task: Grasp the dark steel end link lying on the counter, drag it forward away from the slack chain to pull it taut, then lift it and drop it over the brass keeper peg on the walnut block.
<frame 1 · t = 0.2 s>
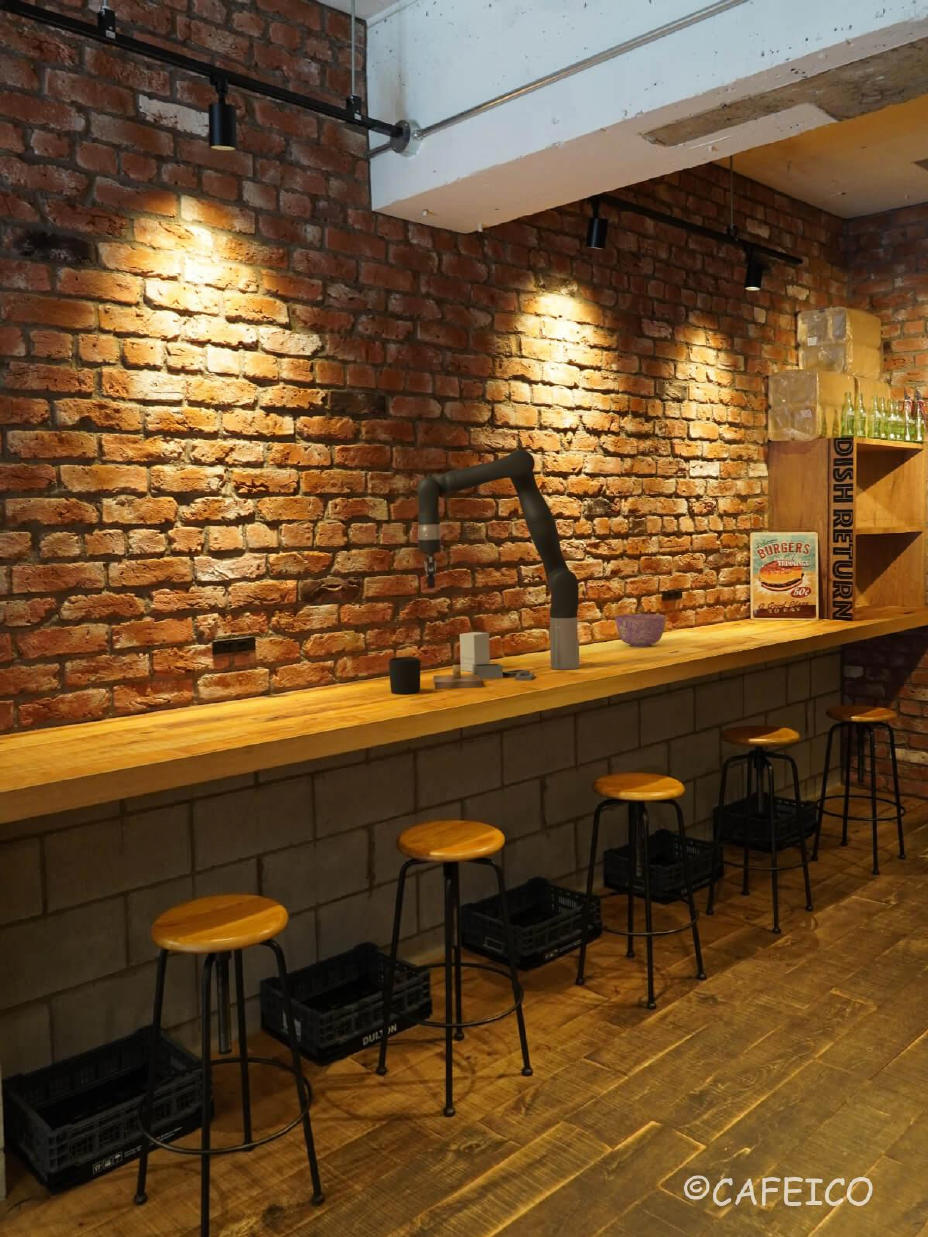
hand: (431, 587, 346), 29 cm above the bar counter, tool pointing down, fingers open, 8 cm apart
end link: (487, 677, 335), on the bar counter
purple bowl: (640, 646, 408), on the bar counter
supplement box: (475, 671, 352), on the bar counter
pen holder: (405, 693, 310), on the bar counter
slack link a: (515, 674, 339), on the bar counter
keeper: (457, 684, 322), on the bar counter
slack link b: (524, 678, 331), on the bar counter
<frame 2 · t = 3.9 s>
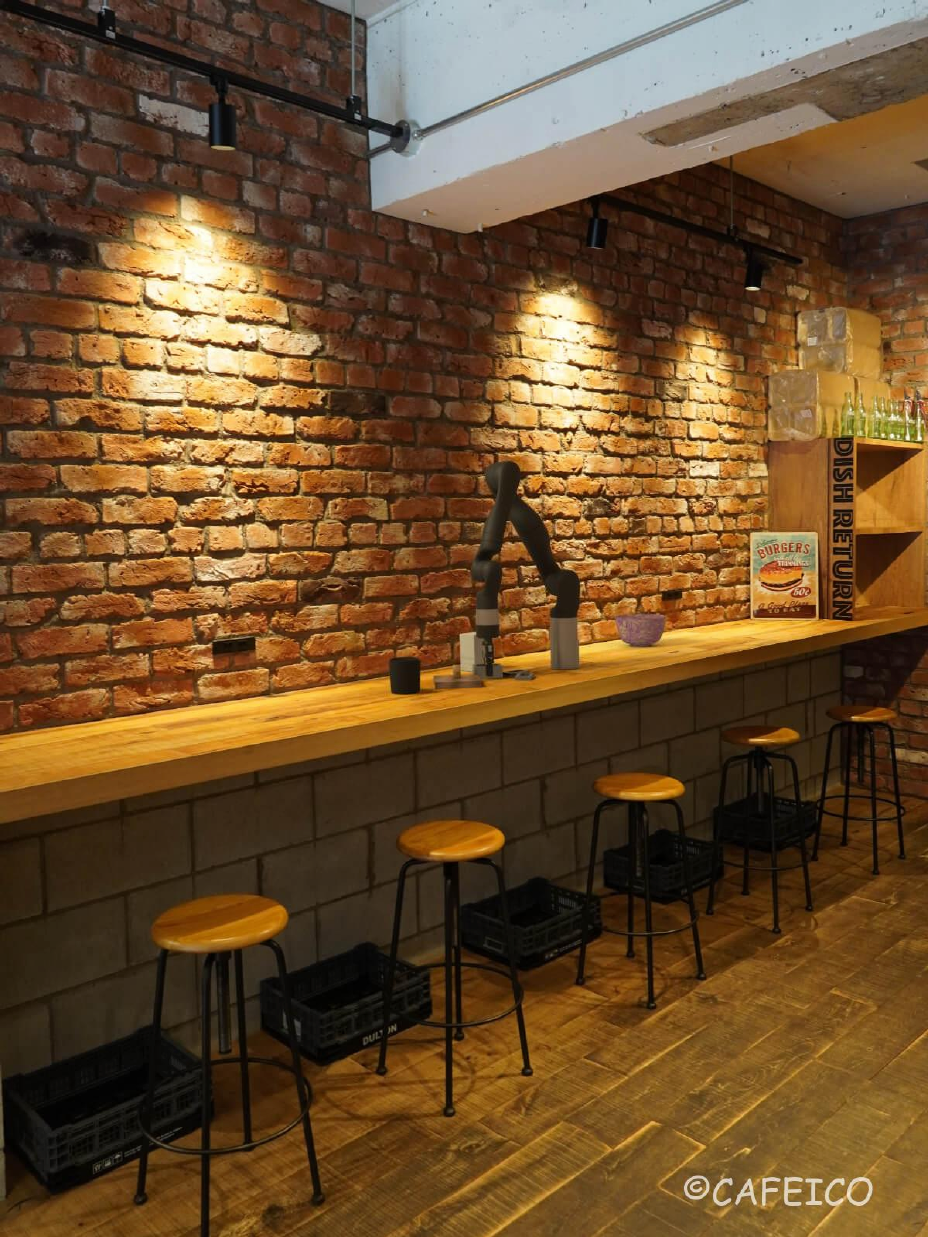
hand: (488, 674, 335), 1 cm above the bar counter, tool pointing down, fingers closed on end link, 6 cm apart
end link: (487, 677, 335), on the bar counter, touching gripper
everything else where it was.
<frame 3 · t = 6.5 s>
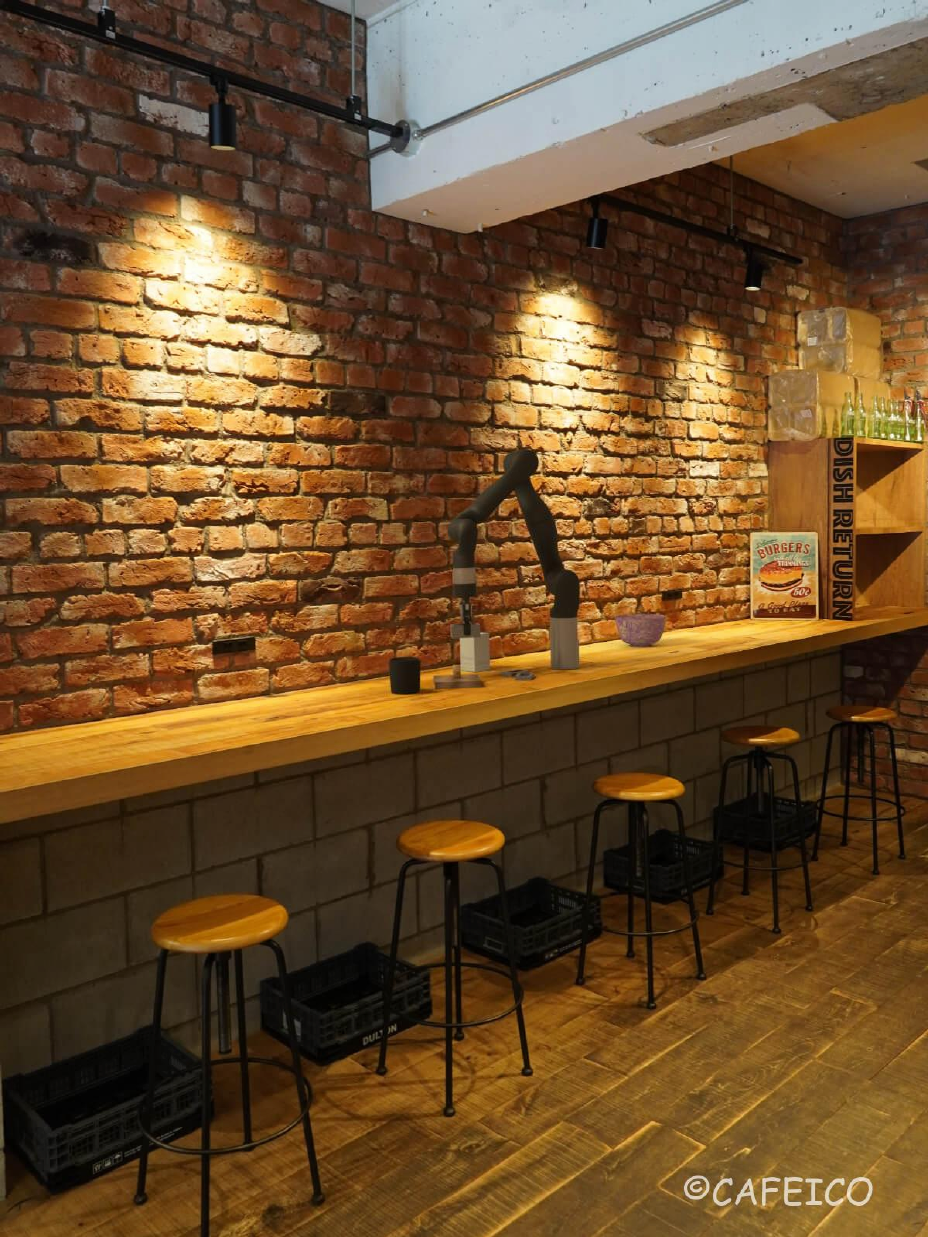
hand: (466, 634, 334), 14 cm above the bar counter, tool pointing down, fingers closed on end link, 6 cm apart
end link: (465, 636, 334), point 13 cm above the bar counter, touching gripper
everything else where it was.
when the fingers open (4 cm above the bar counter, at t = 9.4 s): end link drops 1 cm, resting on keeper.
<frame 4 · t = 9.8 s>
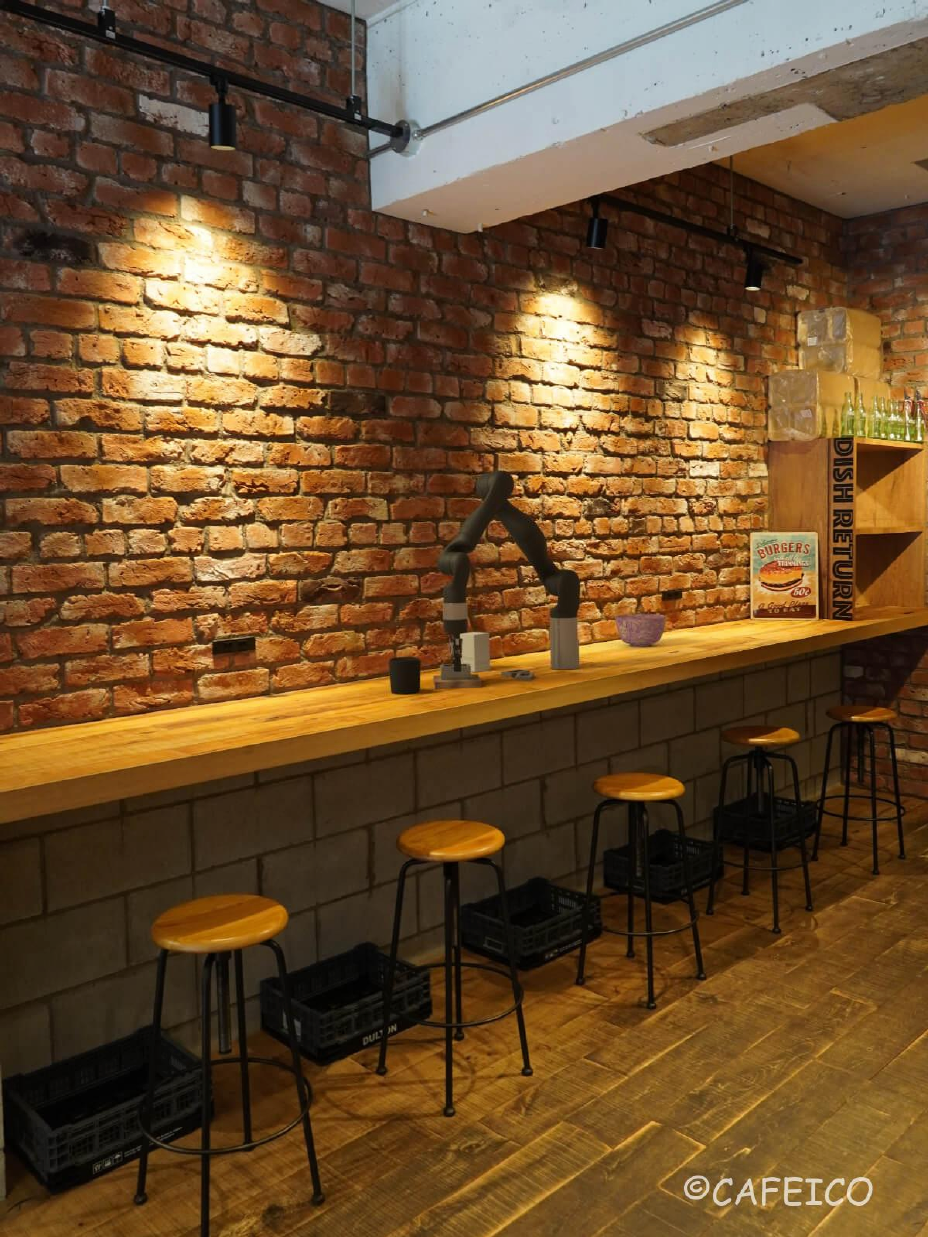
hand: (456, 669, 322), 5 cm above the bar counter, tool pointing down, fingers open, 8 cm apart
end link: (455, 678, 322), point 2 cm above the bar counter, touching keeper
everything else where it was.
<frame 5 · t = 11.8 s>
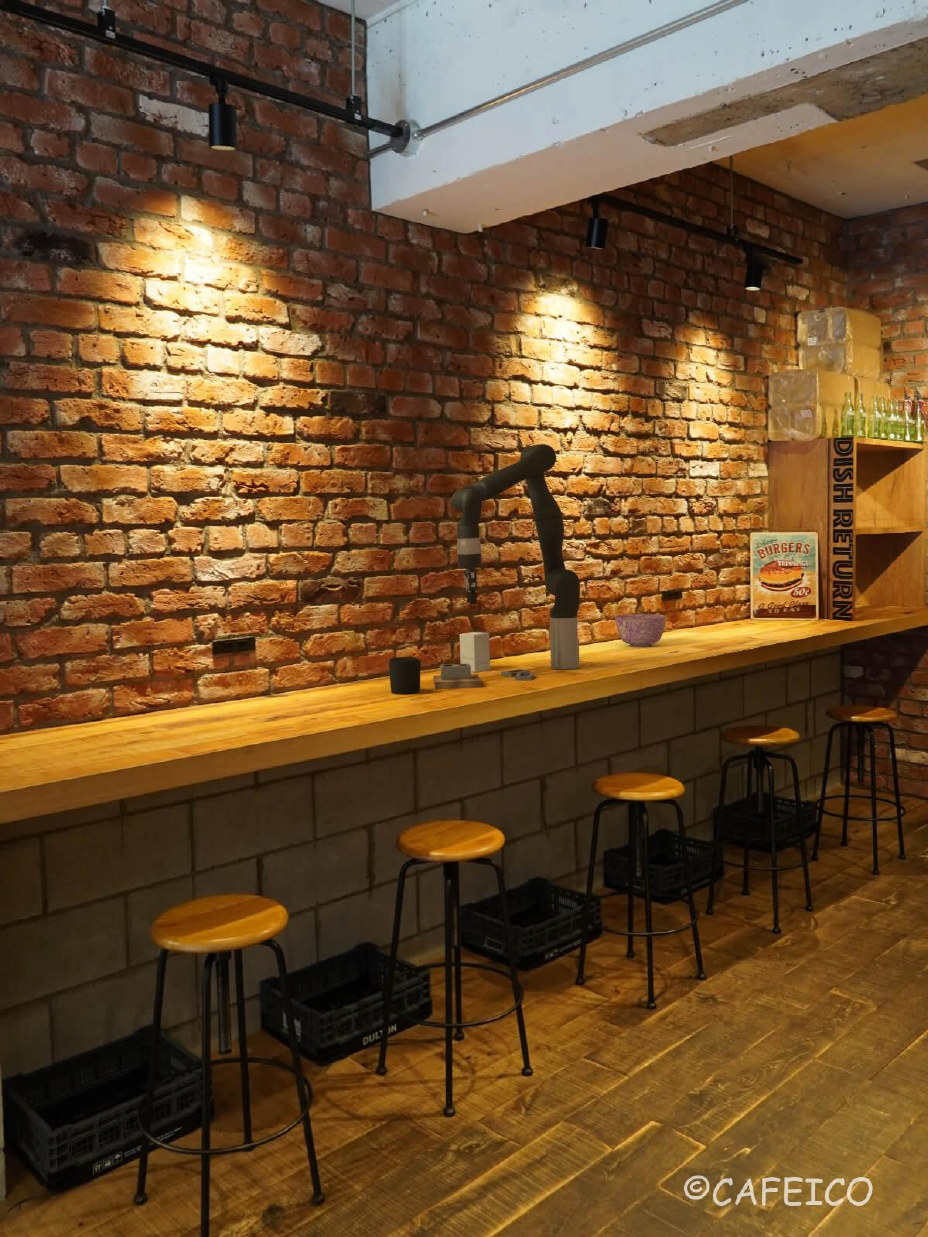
hand: (472, 603, 332), 24 cm above the bar counter, tool pointing down, fingers open, 8 cm apart
nothing on the bar counter moved.
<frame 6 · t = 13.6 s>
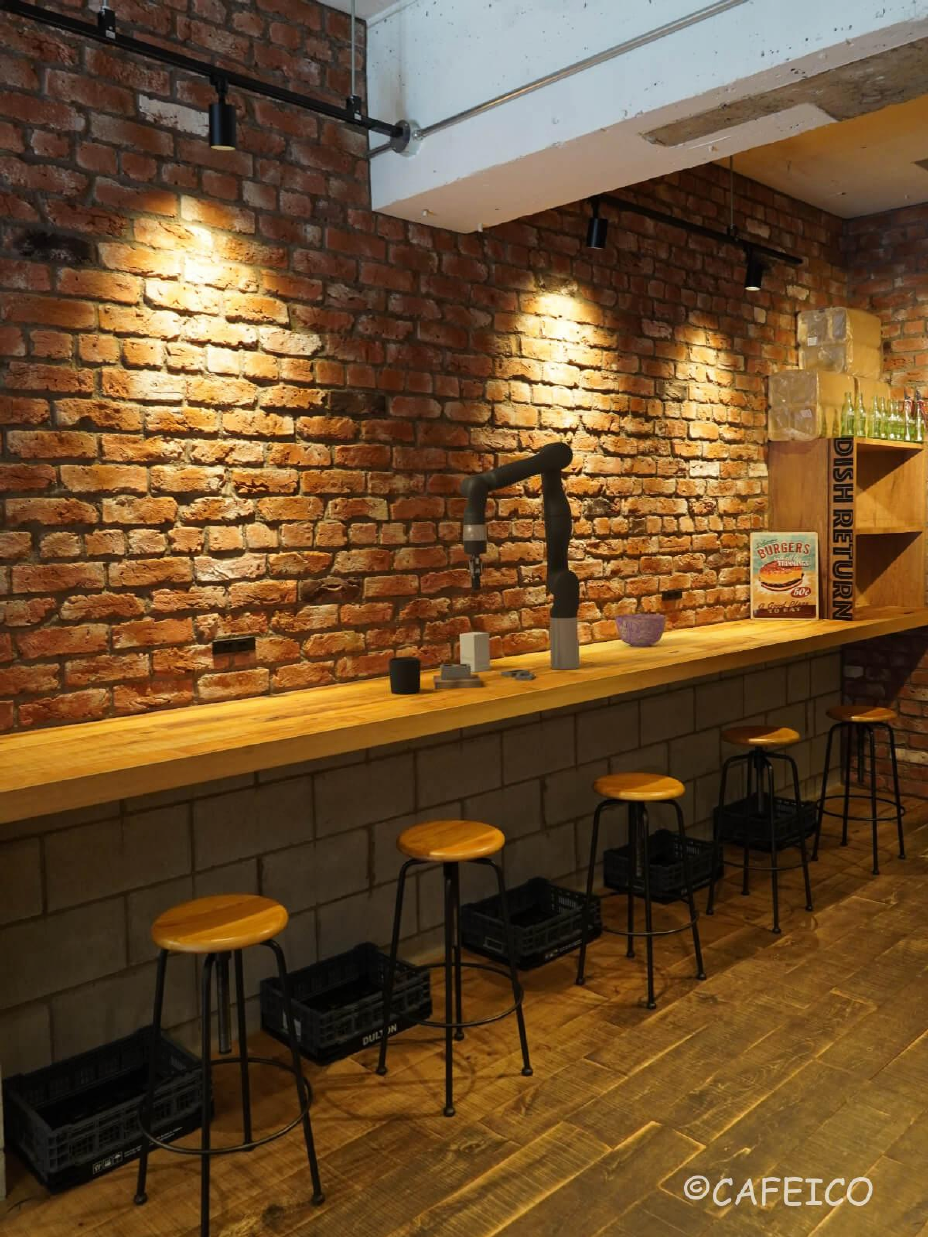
hand: (476, 589, 338), 28 cm above the bar counter, tool pointing down, fingers open, 8 cm apart
nothing on the bar counter moved.
at the end: end link 0.4 cm off-centre on the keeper, point 2.0 cm above the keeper's base; the gripper is holding nothing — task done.
